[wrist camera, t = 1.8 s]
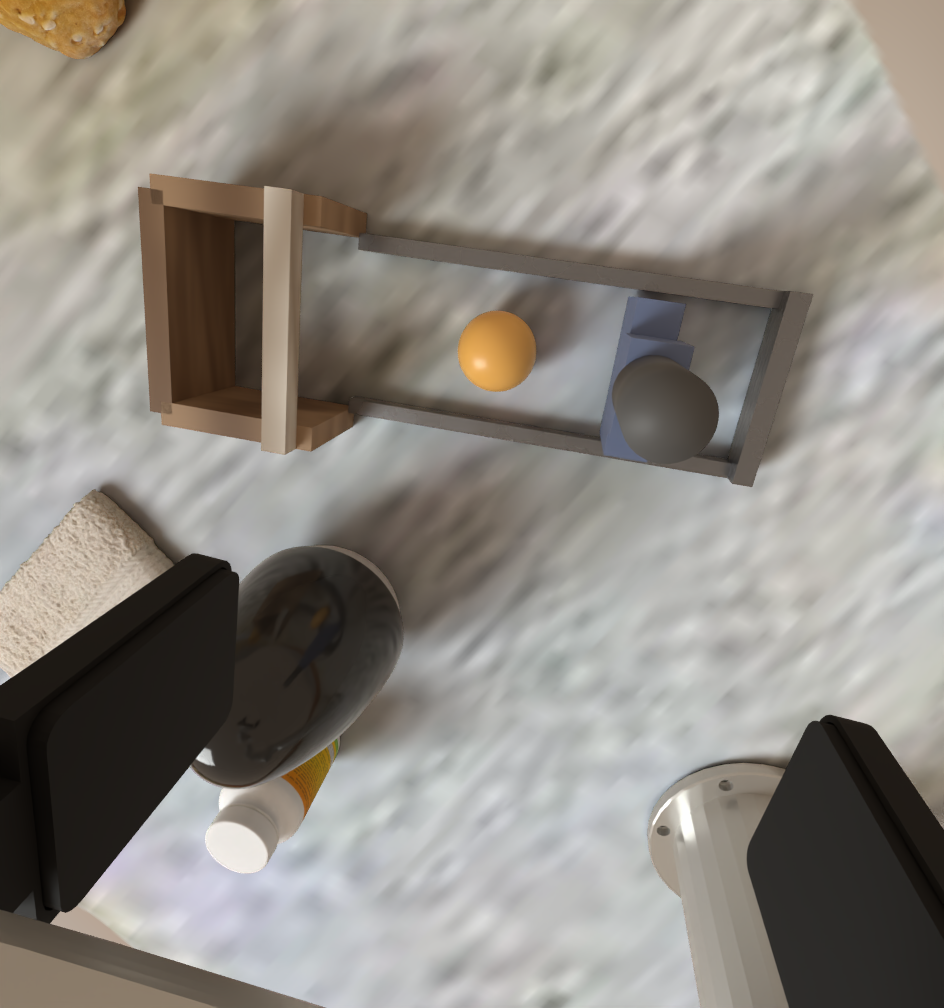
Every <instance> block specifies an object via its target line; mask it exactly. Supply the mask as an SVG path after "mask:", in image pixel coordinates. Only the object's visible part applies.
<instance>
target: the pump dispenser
mask: <svg viewBox="0 0 944 1008" xmlns="http://www.w3.org/2000/svg"><path fill="white" fill-rule="evenodd" d="M402 646H403V623H402V618H401V613H400V608H399V603H398V600H397V597H396V594H395V592H394V590H393V588H392V586H391V584H390V582H389V581H388V579H387V578H386V577H385V575H384V574H383V573H382V572H381V571H380V570H379V568H378V567H376V566H375V565H374V564H373V563H372V562H370V561H369V560H368V559H366V558H365V557H363V556H361V555H359V554H357V553H355V552H353V551H351V550H348V549H345V548H341V547H336V546H328V545H316V546H301V547H294V548H289V549H285V550H282V551H280V552H277V553H275V554H273V555H271V556H270V557H268V558H266V559H265V560H264V561H262V562H261V563H260V564H259V565H257V566H256V567H255V568H254V569H253V570H252V571H251V572H250V573H249V574H248V575H247V576H246V577H245V578H244V579H243V580H242V582H241V583H240V584H239V596H238V615H237V633H236V652H235V670H234V689H233V703H232V707H231V711H230V713H229V716H228V718H227V720H226V721H225V723H224V724H223V726H222V727H221V728H220V729H219V731H218V732H217V733H216V734H215V735H214V737H213V738H212V739H211V740H210V742H209V743H208V744H207V745H206V747H205V748H204V749H203V750H202V752H201V753H200V754H199V755H198V757H197V758H196V759H195V760H194V762H193V763H192V764H191V765H190V768H191V769H192V770H193V772H194V773H195V774H197V775H198V776H199V777H200V778H202V779H203V780H205V781H206V782H208V783H210V784H212V785H215V786H218V787H221V788H226V789H247V788H252V787H256V786H259V785H262V784H265V783H268V782H270V781H273V780H275V779H277V778H279V777H281V776H283V775H285V774H287V773H289V772H291V771H292V770H294V769H296V768H297V767H299V766H300V765H302V764H304V763H305V762H307V761H308V760H310V759H311V758H312V757H314V756H315V755H317V754H318V753H319V752H321V751H322V750H323V749H325V748H326V747H327V746H328V745H330V744H331V743H332V742H333V741H335V740H336V739H337V738H338V737H339V736H340V735H341V734H342V733H344V732H345V731H346V730H347V729H348V728H349V727H350V726H351V725H352V724H353V723H354V722H355V721H356V720H357V719H358V717H359V716H360V715H361V714H362V713H363V712H364V711H365V709H366V708H367V707H368V706H369V705H370V703H371V702H372V701H373V700H374V698H375V697H376V696H377V694H378V693H379V692H380V690H381V689H382V688H383V686H384V685H385V683H386V682H387V680H388V679H389V677H390V676H391V674H392V672H393V670H394V668H395V666H396V664H397V662H398V659H399V657H400V654H401V650H402Z"/></svg>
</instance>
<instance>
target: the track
mask: <svg viewBox="0 0 944 1008" xmlns="http://www.w3.org/2000/svg"><path fill="white" fill-rule="evenodd" d="M358 250H363V251H370V252H377V253H384V254H391V255H398V256H405V257H412V258H419V259H426V260H433V261H440V262H447V263H455V264H462V265H469V266H476V267H483V268H490V269H497V270H504V271H511V272H518V273H525V274H532V275H539V276H546V277H554V278H561V279H568V280H575V281H582V282H589V283H596V284H603V285H610V286H617V287H624V288H631V289H638V290H645V291H653V292H660V293H667V294H674V295H681V296H688V297H695V298H702V299H709V300H716V301H723V302H730V303H737V304H744V305H752V306H759V307H766V308H772V309H771V313H770V316H769V320H768V323H767V326H766V330H765V333H764V337H763V340H762V343H761V347H760V350H759V353H758V357H757V360H756V364H755V367H754V370H753V374H752V377H751V380H750V384H749V387H748V391H747V394H746V397H745V401H744V404H743V408H742V411H741V414H740V418H739V421H738V424H737V428H736V431H735V435H734V438H733V441H732V445H731V448H730V452H729V455H728V458H727V459H726V458H720V457H714V456H708V455H702V454H696V455H695V456H693V457H691V458H689V459H687V460H685V461H682V462H678V463H672V464H660V463H654V462H651V461H648V460H647V462H641V461H635V460H630V459H624V458H618V457H612V456H606V455H603V449H602V443H601V437H595V436H589V435H583V434H577V433H571V432H565V431H559V430H553V429H548V428H542V427H536V426H530V425H524V424H518V423H512V422H506V421H500V420H494V419H488V418H482V417H476V416H470V415H464V414H459V413H453V412H447V411H441V410H435V409H429V408H423V407H417V406H411V405H405V404H399V403H393V402H387V401H381V400H375V399H370V398H364V397H358V396H354V397H352V398H350V399H349V408H348V413H352V414H358V415H363V416H369V417H375V418H381V419H387V420H392V421H398V422H404V423H410V424H416V425H422V426H427V427H433V428H439V429H445V430H451V431H456V432H462V433H468V434H474V435H480V436H486V437H491V438H497V439H503V440H509V441H515V442H520V443H526V444H532V445H538V446H544V447H550V448H555V449H561V450H567V451H573V452H579V453H584V454H590V455H596V456H602V457H608V458H614V459H619V460H625V461H631V462H637V463H643V464H649V465H654V466H660V467H666V468H672V469H678V470H683V471H689V472H695V473H701V474H707V475H713V476H718V477H724V478H728V479H729V480H730V482H731V483H732V484H737V485H743V486H749V487H752V486H753V483H754V480H755V476H756V473H757V470H758V467H759V464H760V461H761V457H762V454H763V451H764V448H765V445H766V442H767V439H768V435H769V432H770V429H771V426H772V423H773V420H774V416H775V413H776V410H777V407H778V404H779V401H780V397H781V394H782V391H783V388H784V385H785V382H786V378H787V375H788V372H789V369H790V366H791V363H792V359H793V356H794V353H795V350H796V347H797V344H798V340H799V337H800V334H801V331H802V328H803V325H804V322H805V318H806V315H807V312H808V309H809V306H810V303H811V299H812V296H813V294H807V293H800V292H792V291H778V290H770V289H763V288H756V287H749V286H742V285H734V284H727V283H720V282H713V281H705V280H698V279H691V278H684V277H676V276H669V275H662V274H655V273H647V272H640V271H633V270H626V269H618V268H611V267H604V266H597V265H590V264H582V263H575V262H568V261H561V260H553V259H546V258H539V257H532V256H524V255H517V254H510V253H503V252H495V251H488V250H481V249H474V248H467V247H459V246H452V245H445V244H438V243H430V242H423V241H416V240H409V239H401V238H394V237H387V236H380V235H372V234H365V233H359V247H358Z"/></svg>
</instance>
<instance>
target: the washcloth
mask: <svg viewBox="0 0 944 1008" xmlns="http://www.w3.org/2000/svg"><path fill="white" fill-rule="evenodd" d="M73 506H74V507H73V508H72V509H71V510H70V511H69V512H68V513H67V514H66V515H65V516H64V518H63V520H62V521H61V522H60V525H59V526H56V527H54V529H53V531H52V533H51V534H49V535H48V537H46V538H45V539H44V542H43V543H42V544H41V545H40V546H39V548H38V550H36V551H35V552H33V553H32V556H31V557H30V558H29V560H27V561H26V562H24V563H22V564H21V565H20V566H21V567H20V569H19V570H17V572H16V574H15V575H14V576H12V579H11V580H10V581H8V582H6V584H5V586H4V587H3V589H2V591H1V592H0V668H2V669H3V670H4V671H5V672H6V673H7V674H8V675H9V676H10V677H11V678H12V677H13V676H15V675H16V674H18V673H19V672H21V671H22V670H23V669H25V668H26V667H28V666H29V665H31V664H32V663H34V662H35V661H36V660H38V659H39V658H41V657H42V656H44V655H45V654H47V653H48V652H50V651H51V650H52V649H54V648H55V647H57V646H58V645H60V644H61V643H63V642H64V641H65V640H67V639H68V638H70V637H71V636H73V635H74V634H76V633H77V632H78V631H80V630H81V629H83V628H84V627H86V626H87V625H89V624H90V623H92V622H93V621H94V620H96V619H97V618H99V617H100V616H102V615H103V614H105V613H106V612H107V611H109V610H110V609H112V608H113V607H115V606H116V605H118V604H119V603H120V602H122V601H123V600H125V599H126V598H128V597H129V596H131V595H132V594H133V593H135V592H136V591H138V590H139V589H141V588H142V587H144V586H145V585H147V584H148V583H149V582H151V581H152V580H154V579H155V578H157V577H158V576H160V575H161V574H162V573H164V572H165V571H167V570H168V569H170V568H171V567H173V566H174V564H173V562H172V561H171V560H170V559H168V558H167V557H166V555H165V554H164V553H163V552H162V551H160V550H159V549H158V548H157V547H156V545H155V543H154V540H153V538H151V537H149V536H148V535H147V533H146V532H145V531H143V530H142V529H141V528H140V527H139V525H138V524H137V523H136V522H134V521H133V520H132V519H131V518H130V517H129V516H128V515H127V514H126V513H125V512H124V511H123V510H122V509H120V508H119V507H118V505H117V504H116V503H115V502H113V501H112V500H111V499H110V498H109V497H108V496H106V495H104V494H103V493H102V492H101V493H99V492H97V491H96V490H95V489H94V490H92V491H91V492H90V493H89V494H88V495H86V496H85V497H84V498H82V499H81V502H77V503H75V504H74V505H73Z"/></svg>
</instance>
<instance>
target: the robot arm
mask: <svg viewBox="0 0 944 1008" xmlns="http://www.w3.org/2000/svg"><path fill="white" fill-rule="evenodd" d="M238 596H239V576H238V574H237V573H236V572H232V570H231V566H230V563H228V562H227V561H224V560H220V559H216V558H212V557H209V556H205V555H201V554H195V553H193V554H191V555H189V556H187V557H186V558H184V559H183V560H181V561H180V562H178V563H177V564H175V565H174V566H173V567H171V568H170V569H168V570H167V571H165V572H164V573H162V574H161V575H160V576H158V577H157V578H155V579H154V580H152V581H151V582H149V583H148V584H147V585H145V586H144V587H142V588H141V589H139V590H138V591H136V592H135V593H133V594H132V595H131V596H129V597H128V598H126V599H125V600H123V601H122V602H120V603H119V604H118V605H116V606H115V607H113V608H112V609H110V610H109V611H107V612H106V613H105V614H103V615H102V616H100V617H99V618H97V619H96V620H94V621H93V622H92V623H90V624H89V625H87V626H86V627H84V628H83V629H81V630H80V631H78V632H77V633H76V634H74V635H73V636H71V637H70V638H68V639H67V640H65V641H64V642H63V643H61V644H60V645H58V646H57V647H55V648H54V649H52V650H51V651H50V652H48V653H47V654H45V655H44V656H42V657H41V658H39V659H38V660H36V661H35V662H34V663H32V664H31V665H29V666H28V667H26V668H25V669H23V670H22V671H21V672H19V673H18V674H16V675H15V676H13V677H12V678H10V679H9V680H8V681H6V682H5V683H3V684H2V685H0V1008H325V1007H322V1006H319V1005H316V1004H312V1003H309V1002H306V1001H303V1000H299V999H296V998H293V997H290V996H286V995H283V994H280V993H277V992H273V991H270V990H267V989H264V988H260V987H257V986H254V985H251V984H248V983H244V982H241V981H238V980H235V979H231V978H228V977H225V976H222V975H218V974H215V973H212V972H209V971H205V970H202V969H199V968H196V967H192V966H189V965H186V964H183V963H180V962H176V961H173V960H170V959H167V958H163V957H160V956H157V955H154V954H150V953H147V952H144V951H141V950H137V949H134V948H131V947H127V946H124V945H121V944H118V943H115V942H111V941H108V940H104V939H101V938H97V937H94V936H91V935H87V934H83V933H80V932H77V931H73V930H69V929H66V928H62V927H59V926H55V925H52V924H50V923H51V922H52V920H53V919H54V918H55V917H56V916H57V914H58V913H59V912H60V911H62V912H65V913H66V912H69V911H71V910H72V909H73V908H75V907H76V906H77V905H78V904H79V903H80V902H81V901H82V899H83V898H84V897H85V896H86V894H87V893H88V892H89V891H90V889H91V888H92V887H93V886H94V884H95V883H96V882H97V881H98V879H99V878H100V877H101V876H102V875H103V873H104V872H105V871H106V870H107V868H108V867H109V866H110V865H111V863H112V862H113V861H114V860H115V858H116V857H117V856H118V855H119V853H120V852H121V851H122V850H123V848H124V847H125V846H126V845H127V843H128V842H129V841H130V840H131V839H132V837H133V836H134V835H135V834H136V832H137V831H138V830H139V829H140V827H141V826H142V825H143V824H144V822H145V821H146V820H147V819H148V817H149V816H150V815H151V814H152V812H153V811H154V810H155V809H156V807H157V806H158V805H159V804H160V803H161V801H162V800H163V799H164V798H165V796H166V795H167V794H168V793H169V791H170V790H171V789H172V788H173V786H174V785H175V784H176V783H177V781H178V780H179V779H180V778H181V776H182V775H183V774H184V773H185V771H186V770H187V769H188V768H189V767H190V765H191V764H192V763H193V762H194V760H195V759H196V758H197V757H198V755H199V754H200V753H201V752H202V750H203V749H204V748H205V747H206V745H207V744H208V743H209V742H210V740H211V739H212V738H213V737H214V735H215V734H216V733H217V732H218V731H219V729H220V728H221V727H222V726H223V724H224V723H225V721H226V720H227V718H228V716H229V713H230V711H231V707H232V703H233V689H234V670H235V652H236V633H237V615H238ZM647 836H648V845H649V852H650V856H651V860H652V864H653V866H654V867H655V869H656V871H657V873H658V875H659V877H660V878H661V879H662V880H663V881H664V883H665V884H666V885H667V886H668V887H669V888H670V889H671V890H672V891H673V892H674V893H675V894H677V895H678V896H679V897H680V898H681V899H682V905H683V911H684V916H685V922H686V928H687V934H688V939H689V945H690V951H691V957H692V962H693V968H694V974H695V979H696V985H697V991H698V997H699V1002H700V1008H944V829H943V828H942V826H941V825H940V824H939V822H938V821H937V819H936V818H935V816H934V815H933V813H932V812H931V810H930V809H929V807H928V806H927V805H926V803H925V802H924V800H923V799H922V797H921V796H920V794H919V793H918V791H917V790H916V788H915V787H914V786H913V784H912V783H911V781H910V780H909V778H908V777H907V775H906V774H905V772H904V771H903V769H902V768H901V767H900V765H899V764H898V762H897V761H896V759H895V758H894V756H893V755H892V753H891V752H890V750H889V749H888V748H887V746H886V745H885V743H884V742H883V740H882V739H881V737H880V736H879V734H878V733H877V731H876V730H875V729H874V728H873V727H872V726H870V725H868V724H865V723H861V722H857V721H853V720H849V719H845V718H841V717H837V716H833V715H826V716H825V717H823V718H822V719H821V720H820V722H818V721H812V722H811V723H810V724H809V725H808V726H807V728H806V730H805V732H804V734H803V736H802V738H801V740H800V742H799V744H798V746H797V748H796V750H795V752H794V754H793V756H792V758H791V760H790V762H789V764H788V766H787V768H786V769H783V768H778V767H774V766H769V765H765V764H752V763H737V764H724V765H720V766H715V767H711V768H706V769H703V770H701V771H698V772H696V773H693V774H691V775H688V776H687V777H685V778H684V779H682V780H680V781H679V782H677V783H676V784H674V785H673V786H672V787H671V788H670V789H668V790H667V791H666V792H665V793H664V794H663V795H662V796H661V798H660V799H659V801H658V802H657V804H656V805H655V806H654V808H653V811H652V813H651V816H650V818H649V823H648V831H647Z"/></svg>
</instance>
